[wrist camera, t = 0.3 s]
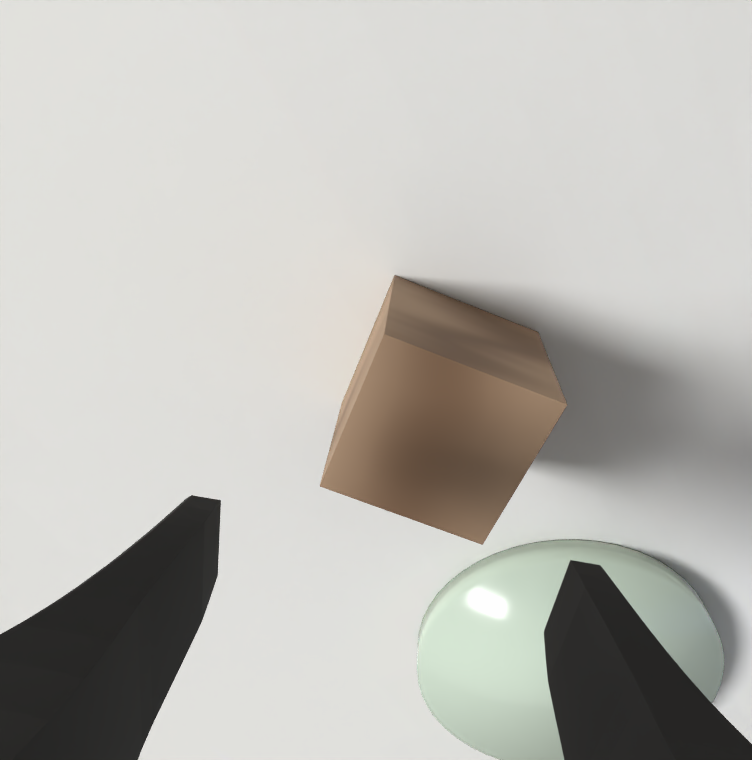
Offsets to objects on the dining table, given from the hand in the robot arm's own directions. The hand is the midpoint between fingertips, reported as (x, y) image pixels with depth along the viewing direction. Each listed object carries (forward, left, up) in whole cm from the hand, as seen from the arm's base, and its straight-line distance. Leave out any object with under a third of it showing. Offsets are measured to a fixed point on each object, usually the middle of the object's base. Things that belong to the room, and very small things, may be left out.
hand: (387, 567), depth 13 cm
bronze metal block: (-1, 0, -10) cm, 10 cm away
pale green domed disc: (-11, +10, -9) cm, 17 cm away
